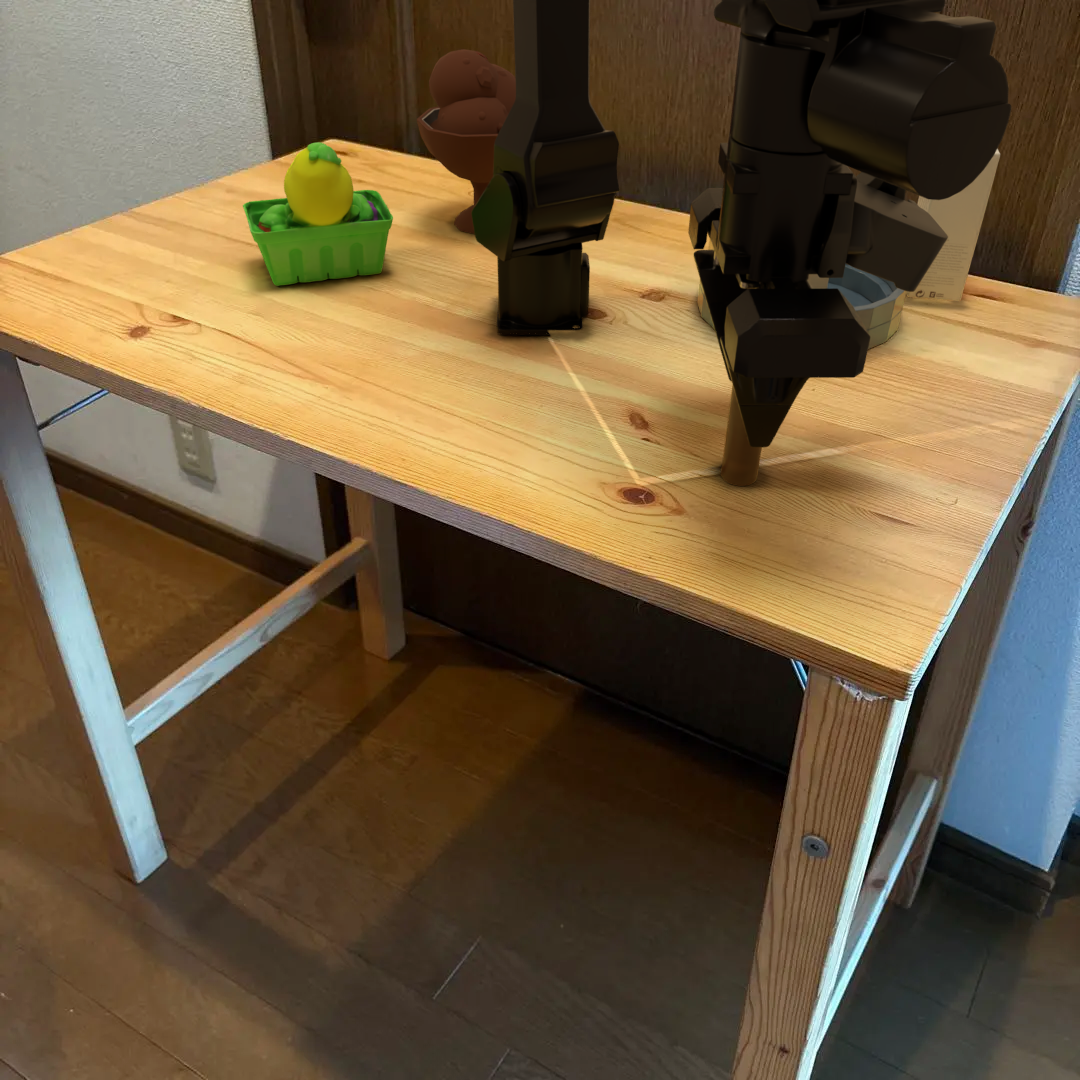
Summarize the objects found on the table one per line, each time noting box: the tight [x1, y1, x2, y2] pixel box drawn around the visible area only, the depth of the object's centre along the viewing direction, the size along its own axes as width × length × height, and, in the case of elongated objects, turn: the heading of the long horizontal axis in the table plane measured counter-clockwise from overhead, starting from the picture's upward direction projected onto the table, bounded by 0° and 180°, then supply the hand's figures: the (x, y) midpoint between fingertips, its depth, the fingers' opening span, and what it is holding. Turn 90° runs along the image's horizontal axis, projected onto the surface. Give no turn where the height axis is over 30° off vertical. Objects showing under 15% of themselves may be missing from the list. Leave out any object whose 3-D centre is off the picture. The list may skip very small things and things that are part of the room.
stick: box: [720, 384, 763, 487], centre depth 60 cm, size 2×2×11 cm
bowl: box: [696, 264, 907, 350], centre depth 80 cm, size 15×15×4 cm
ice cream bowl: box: [416, 48, 516, 235], centre depth 92 cm, size 11×11×15 cm
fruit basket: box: [242, 142, 394, 287], centre depth 84 cm, size 11×9×11 cm
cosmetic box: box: [906, 148, 1001, 302], centre depth 81 cm, size 6×4×12 cm
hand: (747, 411), depth 61 cm, fingers open, 7 cm apart
